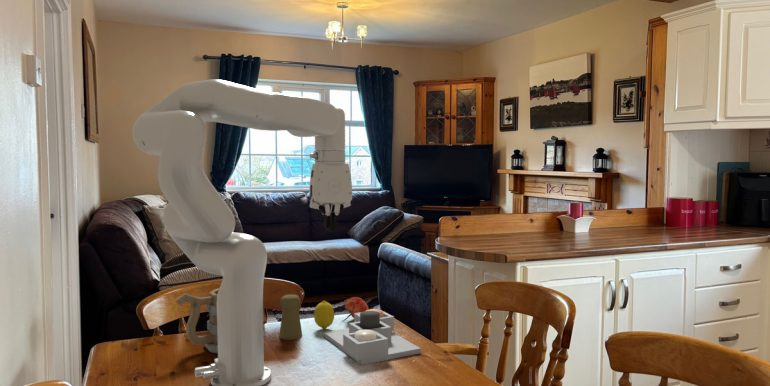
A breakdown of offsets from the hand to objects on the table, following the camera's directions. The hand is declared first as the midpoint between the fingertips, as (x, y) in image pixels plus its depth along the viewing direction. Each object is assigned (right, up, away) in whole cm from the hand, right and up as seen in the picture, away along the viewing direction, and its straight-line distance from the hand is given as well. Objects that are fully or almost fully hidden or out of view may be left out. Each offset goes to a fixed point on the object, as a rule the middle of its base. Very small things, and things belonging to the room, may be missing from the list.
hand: (330, 230), depth 142 cm
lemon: (-3, -28, +14) cm, 32 cm away
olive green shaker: (-11, -29, +8) cm, 32 cm away
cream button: (+9, -28, -7) cm, 30 cm away
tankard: (-28, -30, -1) cm, 41 cm away
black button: (+10, -25, +1) cm, 27 cm away
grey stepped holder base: (+10, -29, +2) cm, 31 cm away
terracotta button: (+11, -27, +10) cm, 30 cm away
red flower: (+5, -28, +22) cm, 36 cm away
